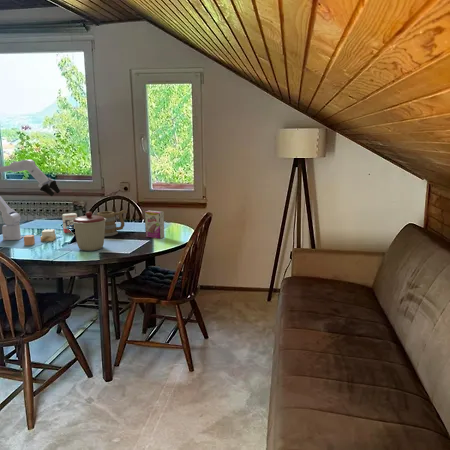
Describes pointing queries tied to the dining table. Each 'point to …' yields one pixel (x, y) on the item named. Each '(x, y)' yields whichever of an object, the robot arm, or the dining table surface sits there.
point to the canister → (89, 231)
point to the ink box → (68, 221)
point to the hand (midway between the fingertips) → (56, 193)
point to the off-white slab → (48, 232)
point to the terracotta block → (29, 240)
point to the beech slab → (48, 238)
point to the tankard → (112, 222)
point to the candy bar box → (154, 224)
